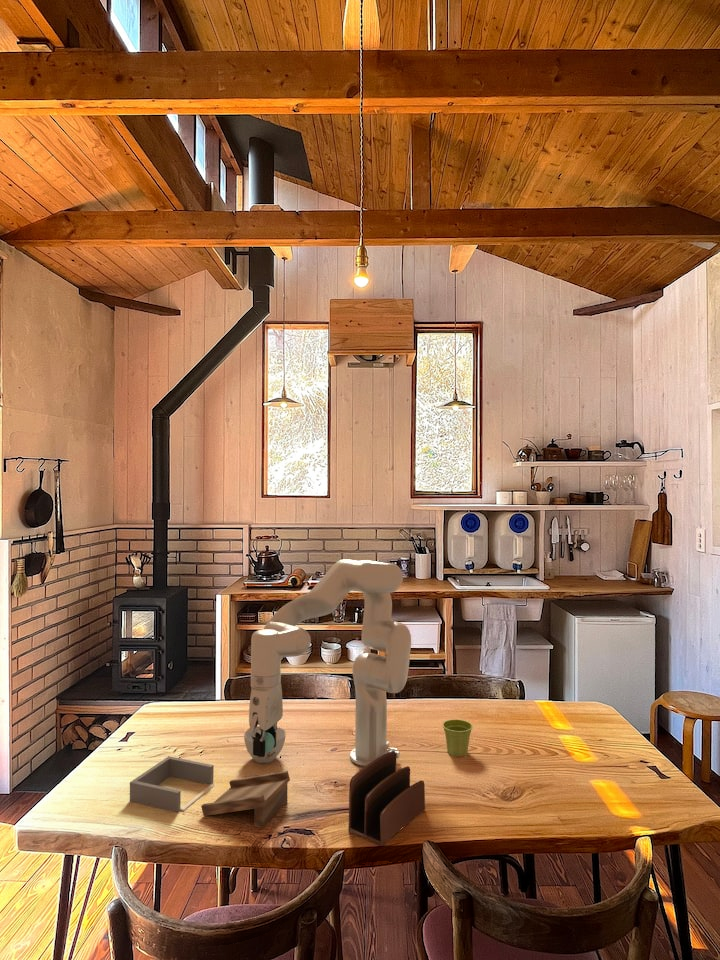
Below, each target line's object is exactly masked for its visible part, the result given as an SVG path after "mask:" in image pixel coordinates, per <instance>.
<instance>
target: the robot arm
mask: <svg viewBox="0 0 720 960" xmlns="http://www.w3.org/2000/svg"><path fill="white" fill-rule="evenodd" d="M403 581H404V575H403V570H402V569H401V568H400V567H399V566H398V565H397V564H395V563H389V562H382V561H374V560H369V559H365V560H363V559H361V560H354V559H344V558H343V559H340V560H338V561H336V562H335V563H334V564H333V565H332V566H330V568H329V570H327V572H326V573H325V574H324V575H323V576H322V577H321V579H320V580H319V581H318V582H317V583H316V584H315V585H314V587H312V588H311V590H309V591H308V592H306V593H304V594H303V595H300V596H298V597H297V598H294V599H293V600H291V601H289V602H287V603H286V604H284V605H283V606H281V608H279V609H278V610H277V611H276V612H275V613H274V614H273V615H272V617H270V619H269V620H268V621H267V623H266V624H265V626H264V627H263V629H258V630H256V631H253V633H252V634H251V640H250V641H251V643H250V644H251V645H250V646H251V647H250V649H251V650H250V651H251V652H250V687H251V689H250V690H251V691H250V698H249V708H248V724H249V728H248V729H249V731H248V734H249V735H251V737H252V740H253V755H255V756H260V757H264V756H265V740H264V735H265V732H268V733H270V734H271V735H272V736H273V737H274V740H275V744H274V747H273V748H275V747H276V732H275V731H276V730H277V728H278V722H279V721H280V720H281V719H282V718H283V714H284V712H283V711H284V710H283V709H284V708H283V706H284V705H283V704H284V703H283V702H284V701H283V689H282V684H281V680H282V679H281V678H282V677H281V675H282V674H281V673H282V671H281V670H282V667H281V663H282V658H289V657H290V658H291V657H292V658H293V657H299V656H302V655H304V654H305V653H306V652H308V650H309V649H310V646H311V644H312V643H311V642H312V641H311V640H312V639H311V635H310V633H309V632H308V631H307V630H306V629H304V628H302V627H300V626H298V624H299V623H302V622H305V621H306V620H310V619H314V618H315V619H316V618H319V617H320V618H321V617H323V616H327V615H329V614H332V613H333V612H334V611H335V610H336V608H337V607H338V606H339V605H340V603H342V601H343V600H344V599H345V597H346V596H348V594H349V593H350V592H351V591H355V592H356V591H357V592H360V593H362V595H363V600H364V609H363V617H362V618H363V619H362V628H361V643H362V644H363V645H364V646H365V647H366V648H369V649H371V650H375V651H378V652H381V653H386V654H385V655H386V656H384V655H381V654H377V653H373V652H362V653H361V654H359V655H358V656H357V657H355V659H354V660H353V664H352V678H353V685H354V691H355V725H354V726H355V730H354V732H355V735H354V736H355V738H354V740H355V742H354V743H355V746H354V747H355V748H353V749H352V750H351V751H350V753H349V758H350V761H351V762H353V763H354V764H356V765H358V766H361V767H365V766H366V765H368V764H369V763H371V762H372V761H374V760H375V759H377V758H378V757H380V756H382V755H384V754H386V753H388V752H391V751H396V754H397V758H396V759H400V756H401V755H400V751H399V748H396V747H391V746H390V741H388V740H387V731H388V729H387V726H388V725H387V724H388V721H387V720H388V719H387V717H388V716H387V715H388V714H387V711H388V710H387V707H388V701H387V695H386V694H387V693H390V694H398V693H400V692H402V690H403V689H404V688H405V687H406V683H407V680H408V675H409V668H410V667H409V666H410V657H411V649H412V648H411V647H412V635H411V632H410V629H409V627H408V626H407V625H405V624H404V623H402V622H398V621H395V620H392V613H393V601H392V595H391V594H392V593H395V592H397V591H398V590H399V589H400V588H401V586H402V585H403ZM386 692H387V693H386ZM257 726H260V727H257ZM257 730H261V735H260V734H259V733H258V732H257Z"/></svg>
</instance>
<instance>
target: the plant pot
mask: <svg viewBox="0 0 720 960" xmlns="http://www.w3.org/2000/svg"><path fill="white" fill-rule="evenodd" d="M442 728H443V731H444V734H445V742H446V743H445V744H446V748H447V750H446V751H447V753H448V754H449V755H450V756H452V757H456V758H457V757H458V758H459V757H465V756H467V755H468V751H469V744H470V743H469V742H470V736H471V733H472V730H473V729H474V727H473V724H472V723H471V722H470V721H467V720H464V719H457V718H456V719H455V718H454V719H448V720H445V721H443V722H442Z"/></svg>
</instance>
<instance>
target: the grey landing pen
mask: <svg viewBox="0 0 720 960" xmlns="http://www.w3.org/2000/svg"><path fill="white" fill-rule="evenodd" d="M169 777H172V778H175V779H181V780H185V781H191V782H195V783H199V784H205V785H208V786H206V787H205V788H204V789H203V790H202V791H201V792H199V793H198V794H197V795H195V797H193V798H192V799H190V801H188V802H186V803H185V805H183V807H181V805H182V804H181V798H182V797H181V792H182V791H181V790H180V789H175V788H169V787H166V786H161V785H159V784H161V783H163V782H164V781H165V780H166V779H168V778H169ZM213 787H215V784H214V764H209V763H205V762H201V761H194V760H191V759H186V758H185V759H184V758H179V757H174V756H167V757H166V758H164V759H162V760H161V761H160V762H157V763H156V764H155V765H154V766H152V767H151V768H150V767H149V769H147V770H146V771H145V772H143V773H141V774H140V775H139V776H137V777H135V778H134V779H133V780H131V781H130V782H129V802H131V803H135V804H139V805H143V806H147V807H148V806H149V807H152V808H156V809H157V808H158V809H160V810H166V811H170V812H174V813H179V812H180V811H183V812H184V811H185V810H187V809H188V808H189V807H190V806H191V805H193V804H194V803H195V802H196V801H198V800H199V799H200V798H201V797H202V796H203V795H205V794H206V793H207V792H208V791H209V790H211V789H212V788H213Z"/></svg>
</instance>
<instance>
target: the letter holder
mask: <svg viewBox="0 0 720 960" xmlns="http://www.w3.org/2000/svg"><path fill="white" fill-rule="evenodd" d="M397 759H398V758H397V754H396V751H391V752H388V753H386V754H384V755H382V756H380V757H378V758H377V759H375V760H374V761H372V762H371V763H369V764H368V765H366V766H363V767H362V768H361V769H360V770H359V771H357V772H356V773H355V774H354V775H353V776H352V777H351V778H350V781H349V789H348V790H349V791H348V793H349V794H348V795H349V796H348V828H347V829H348V832H349V833H350V834H353V835H356V836H358V837H359V838H362V839H364V840H367V841H369V842H370V843H373V844H376V845H377V844H378V845H377V846H379V845H380V847H383V846H384V845H385V844H386V843H387V842H388V841H390V840H391V839H392V838H393V837H394V836H396V833H397V832H398V831H399V830H400V829H401V828H402V827H404V826H405V825H406V826H408V825H409V824H410V823H411V822H412V821H414V820H415V819H416V818H417V817H418V816H419V815H421V812H422V813H423V812H424V811H425V810H426V793H425V792H426V791H425V786H426V785H425V781H424V780H419V781H417V782H415V783H413V784H412V785H411V768H410V766H405V767H402V768H400V769H398V770H397ZM409 822H410V823H409ZM408 823H409V824H408ZM406 826H405V827H406ZM405 827H404V828H405ZM401 830H402V829H401ZM401 830H400V831H401ZM400 831H399V832H400ZM399 832H398V833H399ZM398 833H397V834H398ZM384 843H385V844H384Z"/></svg>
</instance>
